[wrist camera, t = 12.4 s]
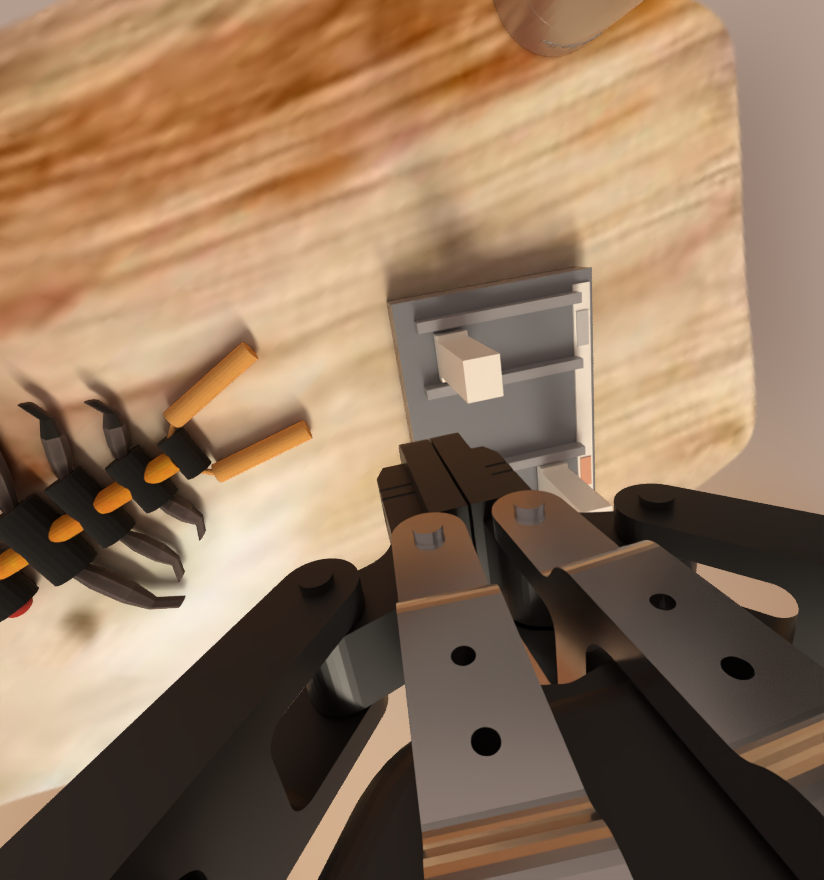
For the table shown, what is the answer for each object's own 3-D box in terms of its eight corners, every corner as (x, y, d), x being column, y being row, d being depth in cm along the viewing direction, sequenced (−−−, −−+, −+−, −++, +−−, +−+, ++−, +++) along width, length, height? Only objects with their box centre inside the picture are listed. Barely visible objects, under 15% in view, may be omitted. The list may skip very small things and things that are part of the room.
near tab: (433, 334, 38) (462, 354, 30) (463, 328, 38) (499, 347, 31) (439, 379, 39) (468, 409, 32) (468, 373, 39) (504, 401, 32)
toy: (189, 256, 36) (-154, 471, 36) (178, 256, 33) (-200, 492, 33) (354, 486, 45) (78, 658, 45) (358, 504, 42) (60, 689, 42)
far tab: (536, 464, 43) (581, 508, 36) (562, 458, 44) (612, 500, 36) (539, 500, 45) (583, 548, 38) (563, 494, 45) (612, 541, 38)
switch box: (386, 301, 39) (393, 306, 36) (576, 266, 41) (599, 268, 37) (426, 535, 47) (435, 557, 44) (582, 497, 49) (602, 516, 46)
